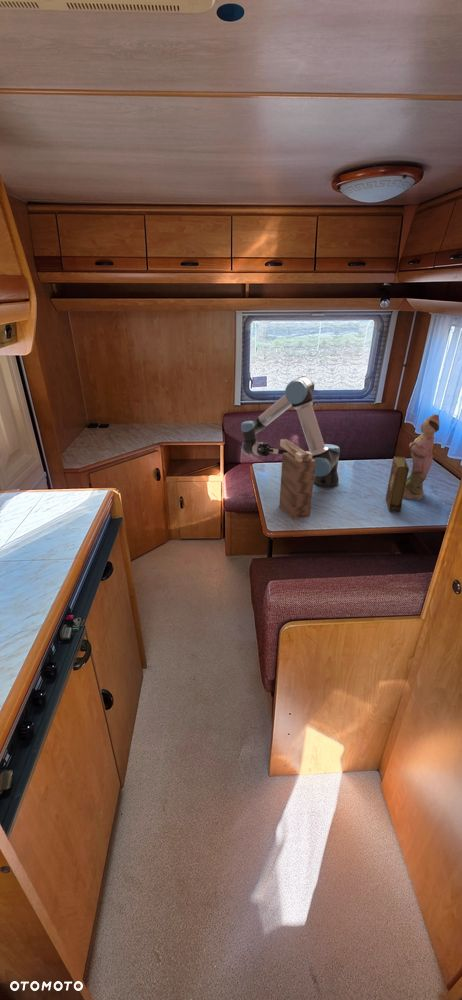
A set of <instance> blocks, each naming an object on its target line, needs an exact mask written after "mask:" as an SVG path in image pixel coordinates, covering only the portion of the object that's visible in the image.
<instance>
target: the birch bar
mask: <svg viewBox="0 0 462 1000" xmlns="http://www.w3.org/2000/svg"><path fill="white" fill-rule="evenodd" d="M279 446H280V447H281V448H282V449H283V450H286V451H288V452H289V453H291V454H292V455H293V456H295V460H297V461H298V462H304V461H312V453H311V452H309V451H310V450H306V451H305V450H303V449H302V448H301V447H299V446H297V445H296V444H295V443H293V442H292V441H290V440H289V439H287V438H282V439H280V441H279Z"/></svg>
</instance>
